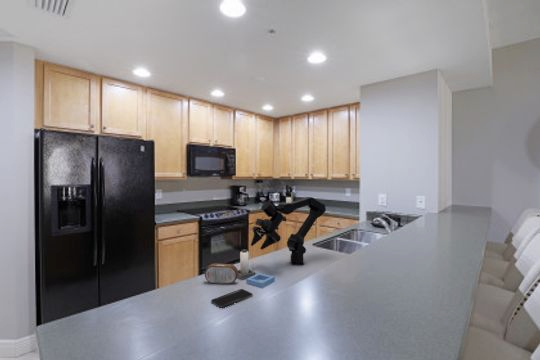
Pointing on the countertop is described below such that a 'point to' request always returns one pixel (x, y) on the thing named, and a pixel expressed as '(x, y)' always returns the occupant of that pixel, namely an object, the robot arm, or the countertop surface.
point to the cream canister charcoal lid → (244, 262)
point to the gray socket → (246, 275)
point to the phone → (231, 298)
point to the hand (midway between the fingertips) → (256, 247)
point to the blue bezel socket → (261, 284)
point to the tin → (221, 273)
